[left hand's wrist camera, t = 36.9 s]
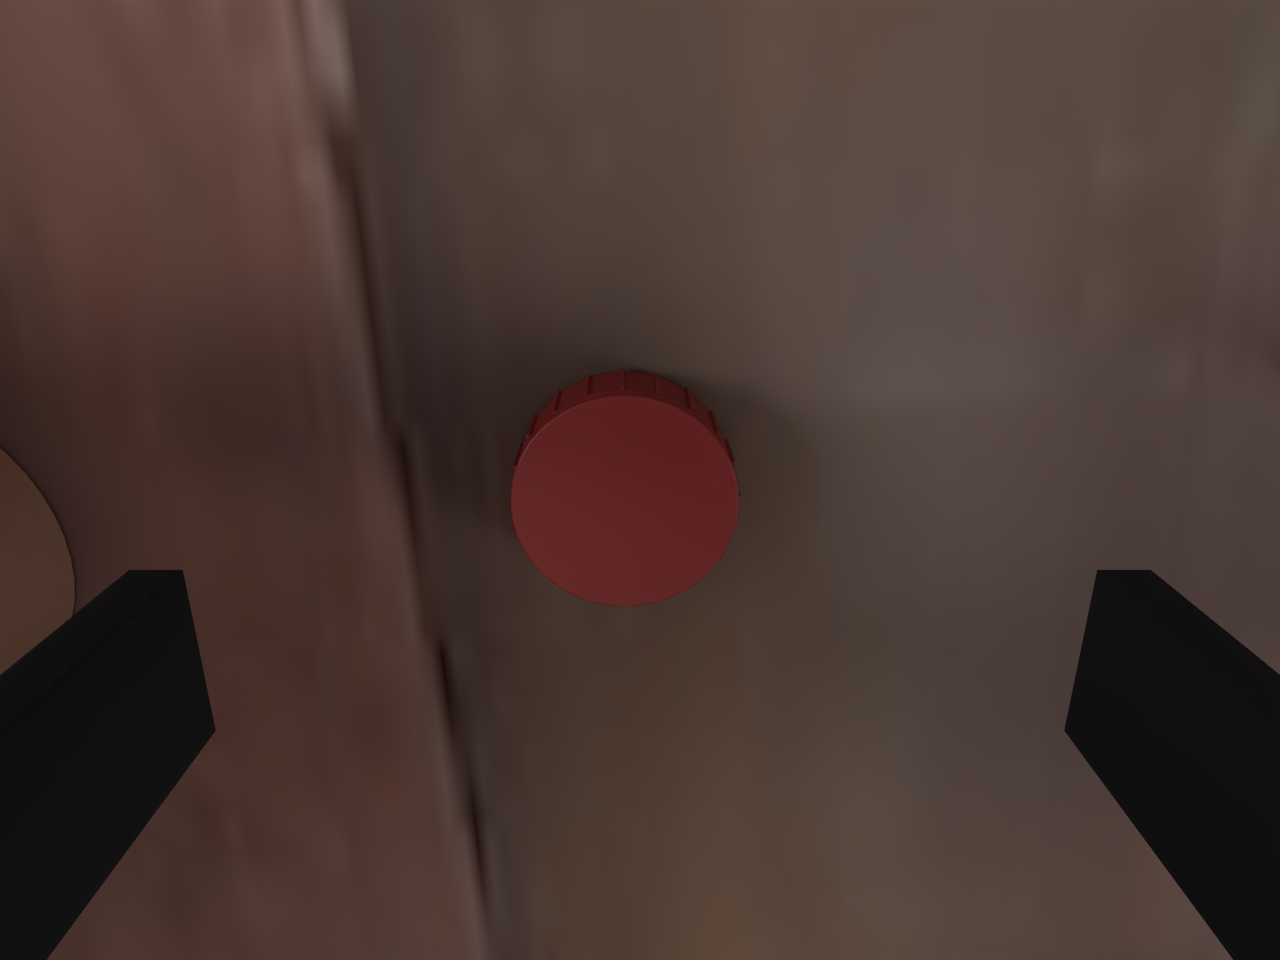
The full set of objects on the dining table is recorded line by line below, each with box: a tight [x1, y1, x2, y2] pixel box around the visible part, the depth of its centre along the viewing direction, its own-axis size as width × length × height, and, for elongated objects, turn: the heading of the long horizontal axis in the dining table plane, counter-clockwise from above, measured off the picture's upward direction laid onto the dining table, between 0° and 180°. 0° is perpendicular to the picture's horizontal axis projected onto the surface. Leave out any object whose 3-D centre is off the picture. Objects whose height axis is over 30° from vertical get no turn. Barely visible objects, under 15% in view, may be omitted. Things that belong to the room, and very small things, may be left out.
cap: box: [510, 369, 740, 606], centre depth 18 cm, size 4×4×2 cm
